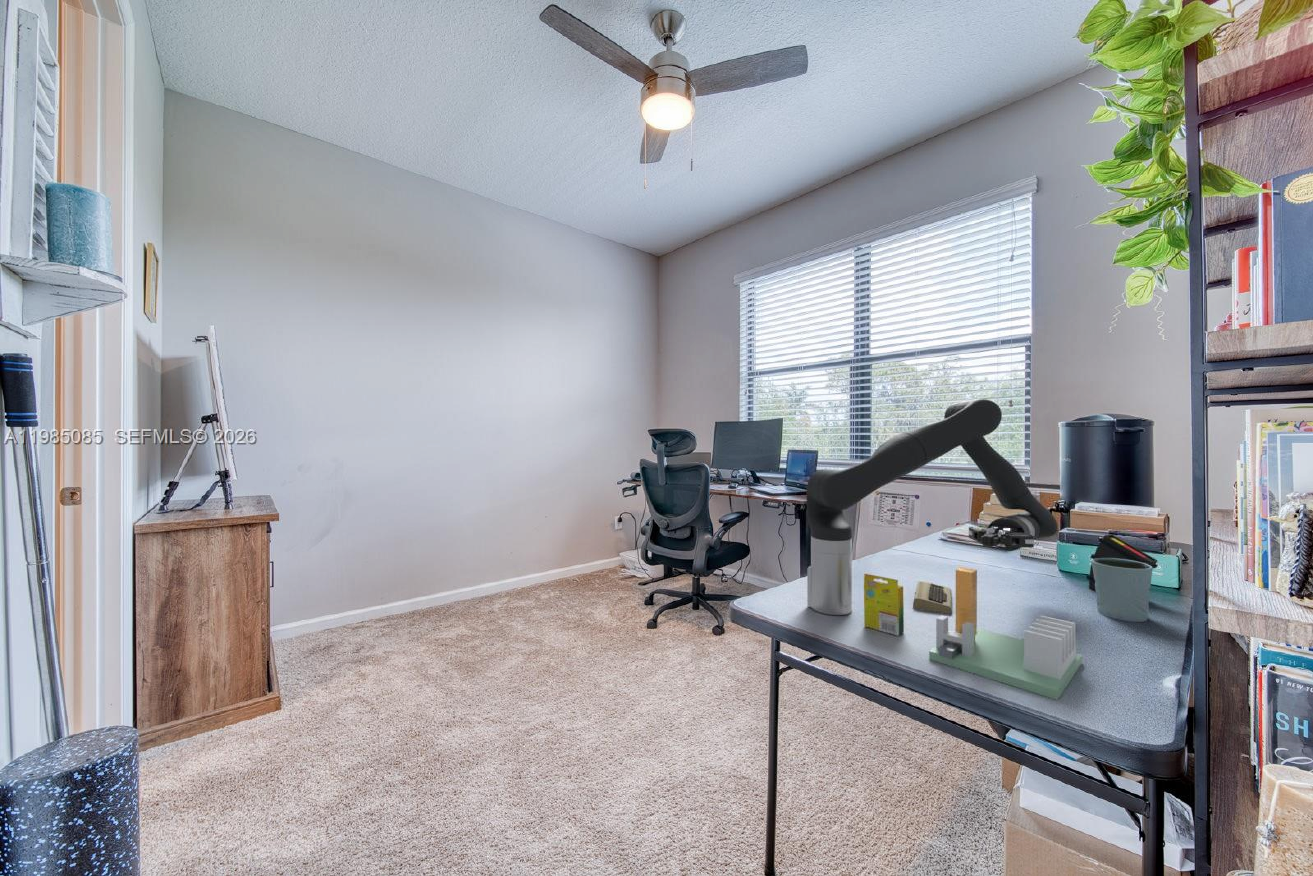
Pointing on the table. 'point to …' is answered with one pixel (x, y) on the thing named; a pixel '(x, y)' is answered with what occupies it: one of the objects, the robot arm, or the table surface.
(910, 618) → the table surface
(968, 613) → the wooden block
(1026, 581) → the table surface
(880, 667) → the table surface
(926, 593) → the computer
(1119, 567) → the grey green bin
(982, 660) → the heatsink board
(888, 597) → the crayon box
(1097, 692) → the table surface
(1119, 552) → the black striped box
